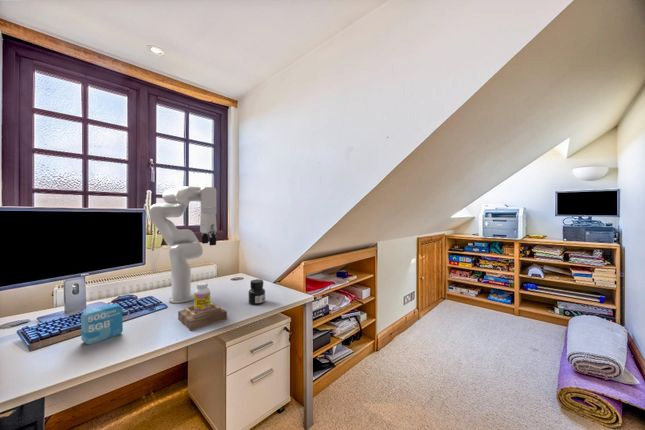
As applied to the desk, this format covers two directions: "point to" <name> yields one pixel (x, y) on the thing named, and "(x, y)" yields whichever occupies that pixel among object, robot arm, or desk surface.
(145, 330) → the desk surface
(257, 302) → the ink bottle
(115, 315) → the data package
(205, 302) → the supplement bottle
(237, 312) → the desk surface
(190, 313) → the wooden pedestal
